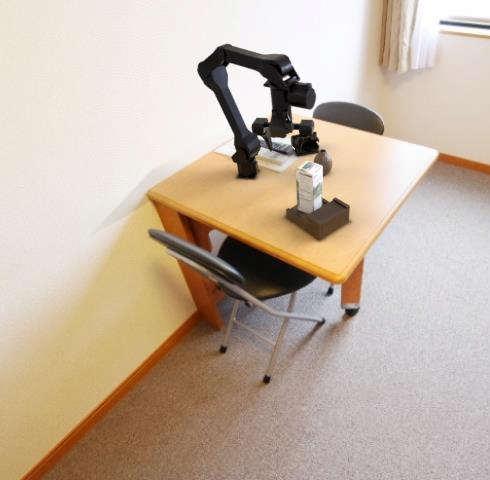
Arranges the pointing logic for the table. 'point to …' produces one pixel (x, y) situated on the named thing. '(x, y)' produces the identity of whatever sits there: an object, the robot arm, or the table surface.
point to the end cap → (306, 144)
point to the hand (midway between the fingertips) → (285, 151)
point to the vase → (324, 161)
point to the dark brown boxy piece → (321, 217)
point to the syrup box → (309, 186)
